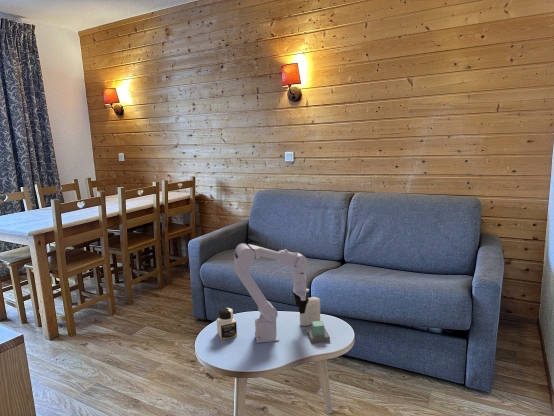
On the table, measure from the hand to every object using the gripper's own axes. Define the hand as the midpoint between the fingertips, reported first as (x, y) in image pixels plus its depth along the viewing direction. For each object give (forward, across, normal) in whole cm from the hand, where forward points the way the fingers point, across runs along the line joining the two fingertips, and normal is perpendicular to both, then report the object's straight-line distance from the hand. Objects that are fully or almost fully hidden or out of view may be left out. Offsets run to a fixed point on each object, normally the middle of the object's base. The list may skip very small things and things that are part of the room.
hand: (300, 309), depth 170 cm
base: (+10, -7, -6) cm, 14 cm away
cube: (+8, -7, -6) cm, 13 cm away
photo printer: (+11, +7, -6) cm, 14 cm away
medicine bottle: (+10, +3, +33) cm, 35 cm away
